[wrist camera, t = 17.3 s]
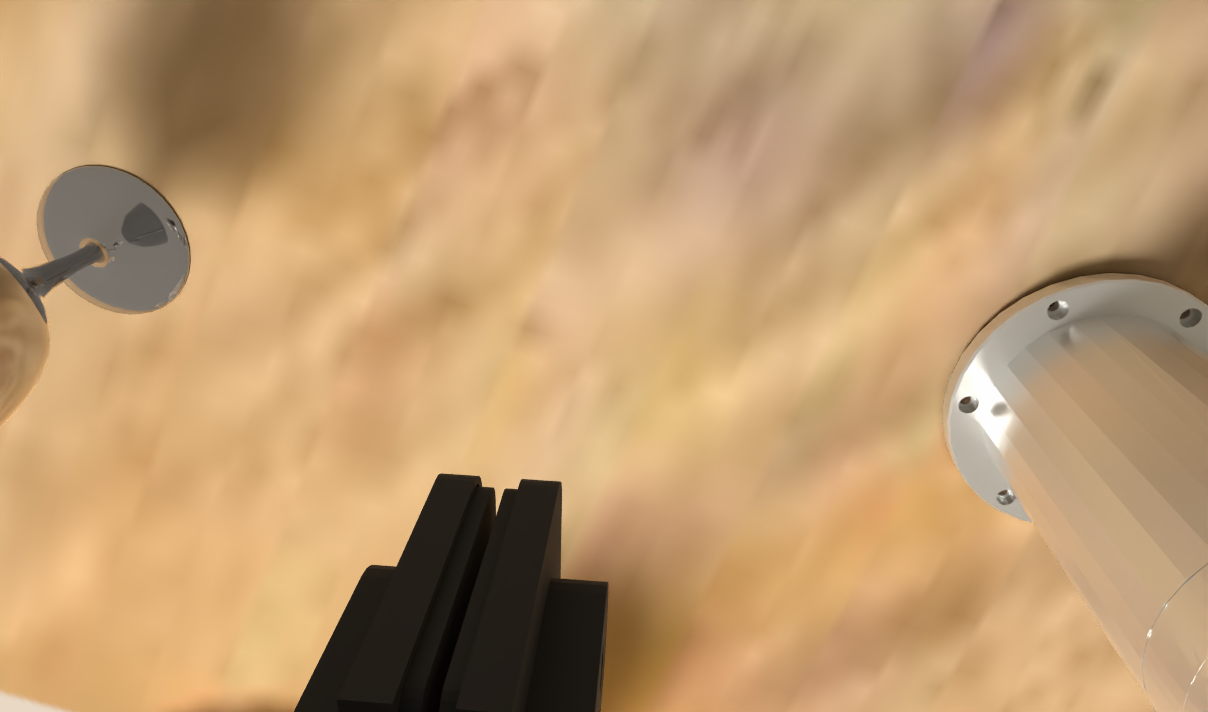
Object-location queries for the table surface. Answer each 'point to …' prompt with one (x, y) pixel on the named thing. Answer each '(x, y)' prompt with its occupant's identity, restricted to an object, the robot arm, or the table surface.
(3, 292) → the wine glass
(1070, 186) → the table surface
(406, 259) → the table surface
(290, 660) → the table surface
